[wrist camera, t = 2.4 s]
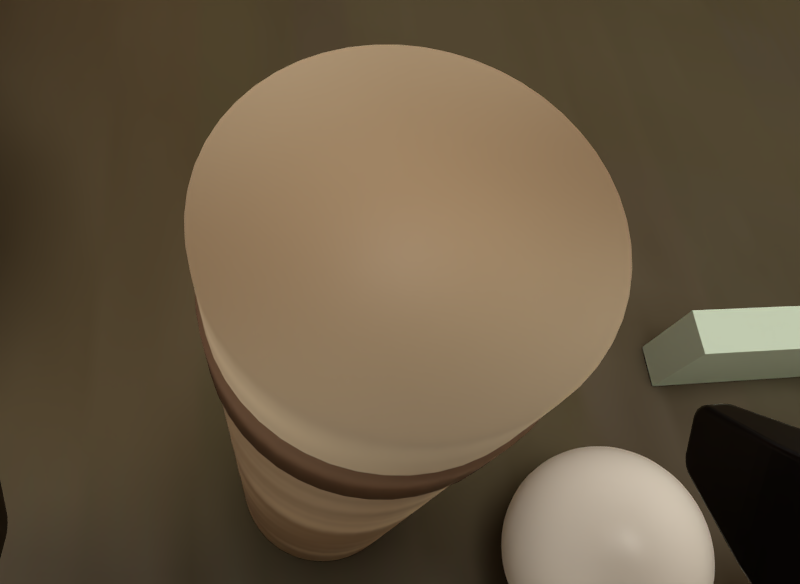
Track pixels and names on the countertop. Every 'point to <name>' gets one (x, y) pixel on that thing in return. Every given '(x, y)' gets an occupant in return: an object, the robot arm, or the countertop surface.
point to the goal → (727, 346)
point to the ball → (605, 524)
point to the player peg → (394, 282)
